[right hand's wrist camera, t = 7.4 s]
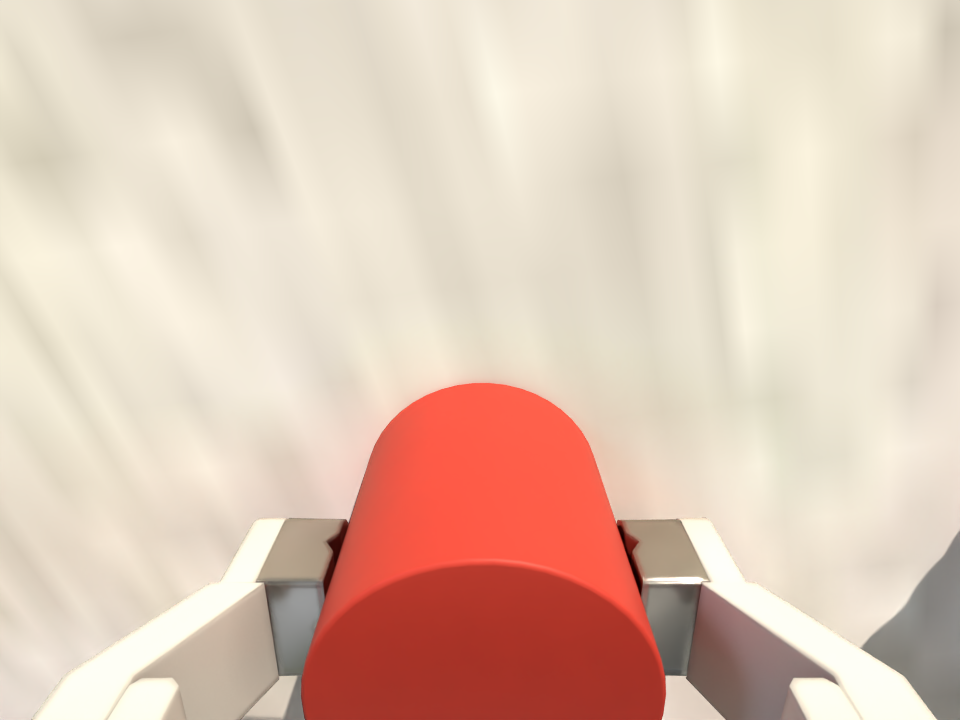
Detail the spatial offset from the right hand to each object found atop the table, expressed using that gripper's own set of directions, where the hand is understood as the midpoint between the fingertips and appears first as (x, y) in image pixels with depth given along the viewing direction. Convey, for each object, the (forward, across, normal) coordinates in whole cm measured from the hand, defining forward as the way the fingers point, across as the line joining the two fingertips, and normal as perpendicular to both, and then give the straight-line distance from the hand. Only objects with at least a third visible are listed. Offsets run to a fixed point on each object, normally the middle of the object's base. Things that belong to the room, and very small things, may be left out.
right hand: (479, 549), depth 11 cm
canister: (+2, 0, 0) cm, 2 cm away
